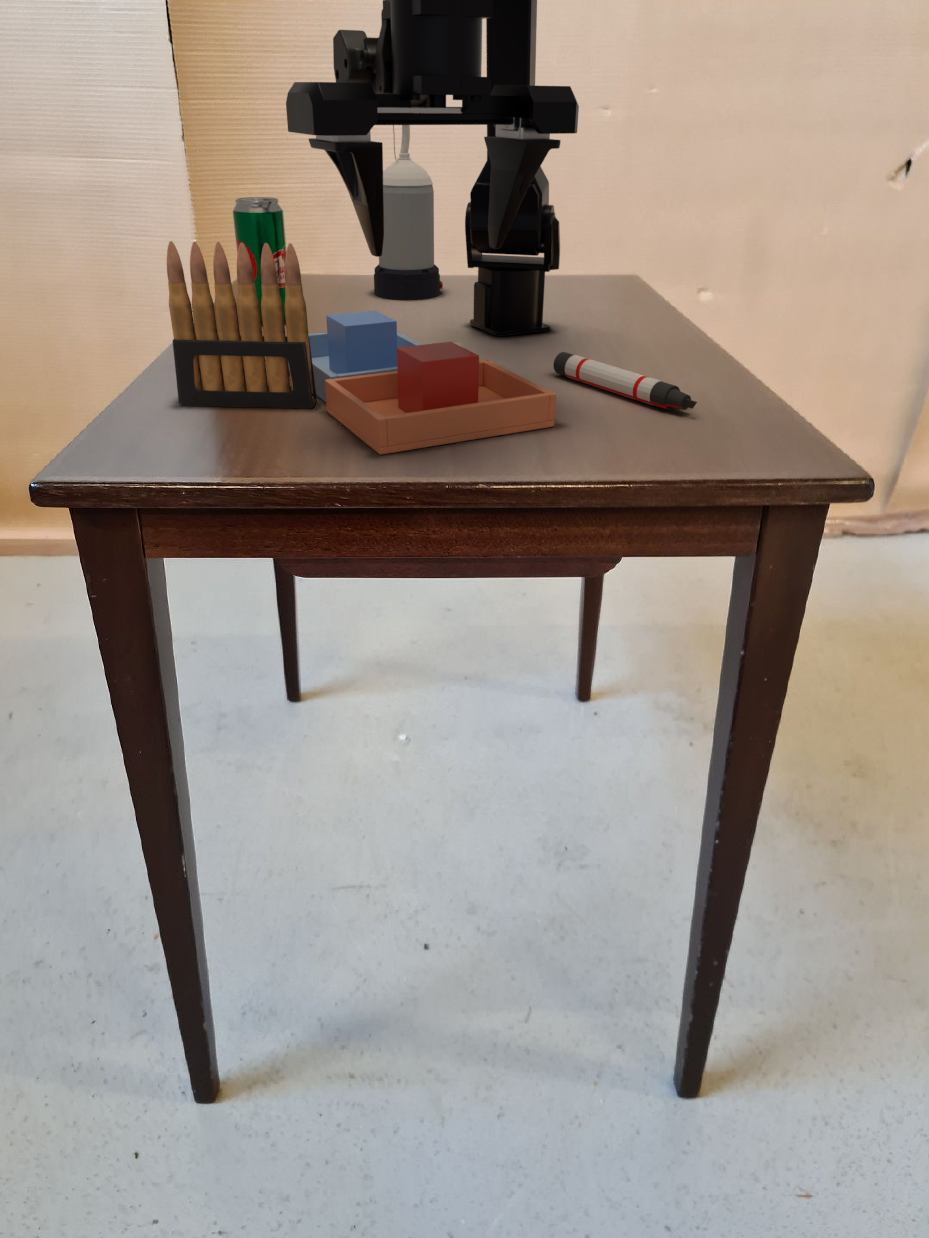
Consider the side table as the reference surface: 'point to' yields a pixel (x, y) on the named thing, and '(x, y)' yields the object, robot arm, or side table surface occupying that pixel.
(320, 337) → the blue tray
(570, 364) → the marker
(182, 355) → the ammunition clip
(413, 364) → the red block
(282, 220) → the soda can
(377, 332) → the blue block
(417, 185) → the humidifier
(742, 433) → the side table surface
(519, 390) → the terracotta tray
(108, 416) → the side table surface
